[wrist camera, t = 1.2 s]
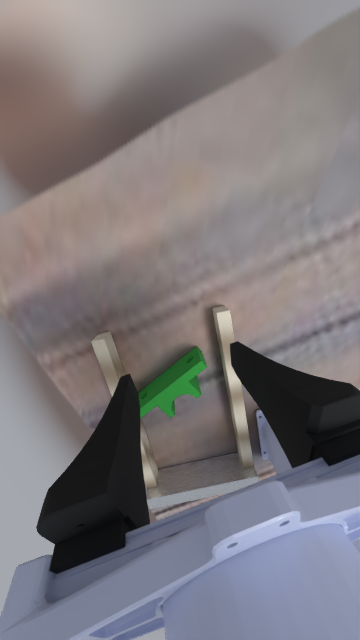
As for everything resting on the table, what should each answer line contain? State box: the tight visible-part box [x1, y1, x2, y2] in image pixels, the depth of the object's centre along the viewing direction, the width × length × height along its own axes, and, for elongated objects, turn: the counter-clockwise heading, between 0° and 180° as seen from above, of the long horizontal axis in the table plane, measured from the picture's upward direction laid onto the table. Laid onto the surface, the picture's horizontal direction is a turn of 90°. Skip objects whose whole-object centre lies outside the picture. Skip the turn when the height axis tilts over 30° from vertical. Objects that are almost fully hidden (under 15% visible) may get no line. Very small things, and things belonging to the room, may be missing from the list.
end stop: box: [146, 452, 259, 509], centre depth 30 cm, size 2×16×4 cm, turn 102°
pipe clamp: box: [139, 346, 207, 418], centre depth 25 cm, size 10×4×4 cm, turn 131°
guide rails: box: [91, 305, 254, 488], centre depth 27 cm, size 24×16×2 cm, turn 13°
